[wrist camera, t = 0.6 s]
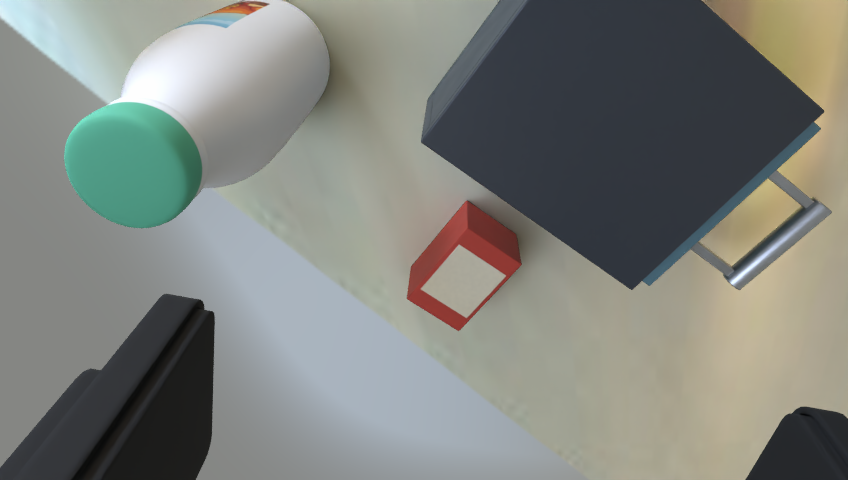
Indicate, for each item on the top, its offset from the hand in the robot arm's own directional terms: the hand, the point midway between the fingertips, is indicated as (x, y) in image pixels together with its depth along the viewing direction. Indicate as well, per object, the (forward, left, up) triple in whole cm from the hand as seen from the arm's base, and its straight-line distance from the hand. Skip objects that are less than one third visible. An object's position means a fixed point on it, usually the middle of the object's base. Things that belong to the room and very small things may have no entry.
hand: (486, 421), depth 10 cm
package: (+14, +4, -32) cm, 36 cm away
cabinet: (0, +8, -32) cm, 33 cm away
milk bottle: (+4, -12, -33) cm, 35 cm away
